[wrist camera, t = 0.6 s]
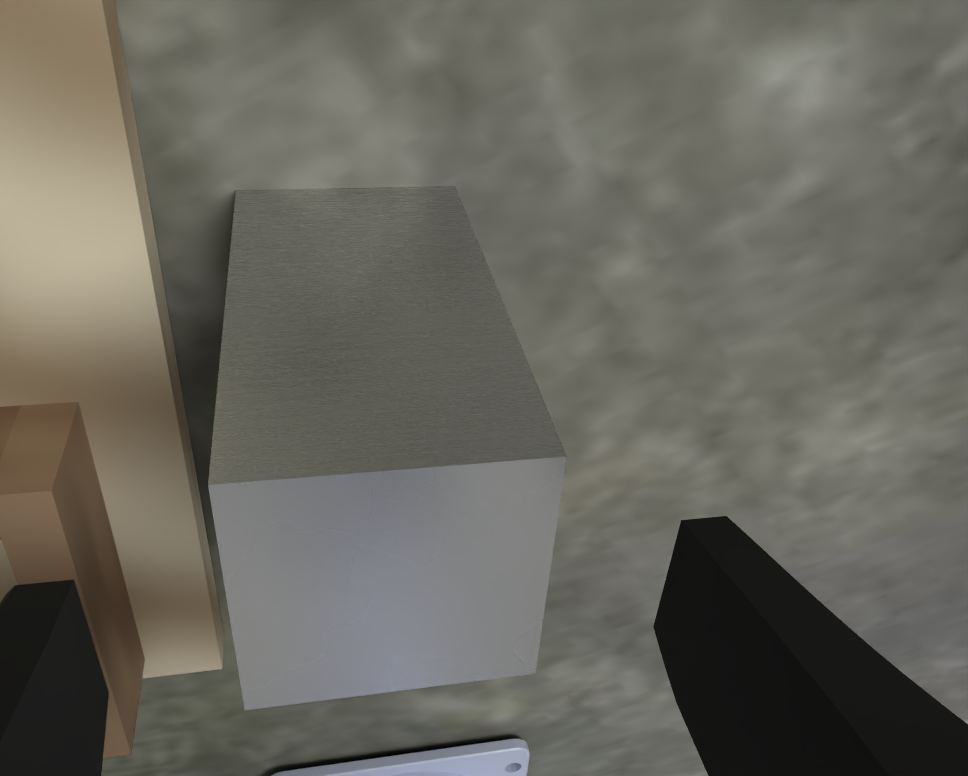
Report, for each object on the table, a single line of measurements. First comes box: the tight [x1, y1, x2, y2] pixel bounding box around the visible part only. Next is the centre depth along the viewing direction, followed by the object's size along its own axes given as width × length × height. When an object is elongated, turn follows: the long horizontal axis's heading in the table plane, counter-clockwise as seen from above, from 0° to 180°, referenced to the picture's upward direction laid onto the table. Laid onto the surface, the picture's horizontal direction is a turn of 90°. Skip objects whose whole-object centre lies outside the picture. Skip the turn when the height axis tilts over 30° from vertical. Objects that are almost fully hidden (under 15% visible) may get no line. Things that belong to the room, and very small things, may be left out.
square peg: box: [208, 186, 567, 710], centre depth 14 cm, size 4×4×8 cm
